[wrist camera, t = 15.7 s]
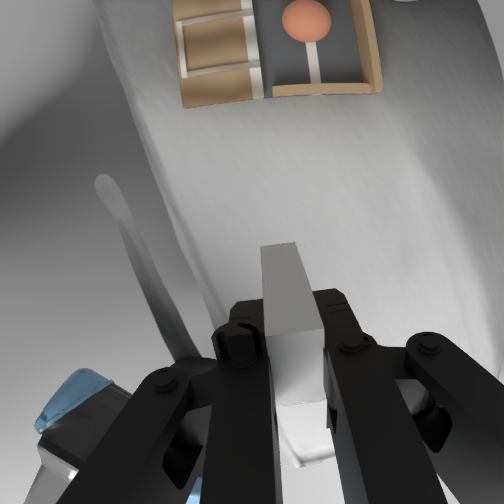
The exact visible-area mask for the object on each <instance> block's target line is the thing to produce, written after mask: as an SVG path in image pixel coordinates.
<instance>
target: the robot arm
mask: <svg viewBox="0 0 504 504" xmlns="http://www.w3.org/2000/svg"><path fill="white" fill-rule="evenodd" d="M261 264H262V284H263V299H257V300H248V301H240V302H236V304H235V305H234V306H233V307H232V308H231V310H230V316H229V323H227V324H225V325H223V326H220V327H219V328H218V329H217V330H216V331H214V333H213V335H212V337H211V339H212V342H213V346H214V350H215V354H216V358H217V360H216V359H211V358H203V357H195V358H187V359H183V360H180V361H178V362H176V363H174V364H173V365H171V366H170V367H165V368H161V369H158V370H156V371H154V372H152V373H150V374H149V375H148V376H147V377H146V378H145V379H144V380H143V381H142V383H141V384H140V385H139V387H138V388H137V390H136V391H135V392H134V394H131V393H129V392H127V391H126V390H124V389H123V388H121V387H119V386H118V385H116V384H115V383H114V381H112V380H108V379H106V378H105V377H103V376H101V375H99V374H98V373H96V372H94V371H93V370H91V369H88V368H81V369H78V370H77V371H75V372H74V373H73V374H72V375H71V376H70V377H69V378H68V379H67V380H66V381H65V382H64V383H63V384H62V386H61V387H60V388H59V389H58V391H57V392H56V393H55V394H54V395H53V397H52V398H51V399H50V401H49V402H48V403H47V405H46V406H45V408H44V409H43V411H42V413H41V414H40V416H39V417H38V418H37V420H36V422H35V425H34V426H35V429H36V430H37V432H38V433H39V434H42V437H41V439H40V441H39V442H38V445H37V448H38V451H39V454H40V457H41V461H42V465H41V467H40V469H39V471H38V473H37V475H36V478H35V480H34V482H33V484H32V486H31V488H30V491H29V493H28V495H27V497H26V500H25V502H24V504H283V497H282V481H281V466H280V451H279V436H278V421H277V414H276V407H277V406H286V405H294V404H302V403H309V402H316V401H322V400H325V394H326V399H327V428H330V430H331V435H332V439H333V444H334V449H335V454H336V459H337V464H338V469H339V474H340V479H341V484H342V490H343V495H344V500H345V504H448V502H447V500H446V497H445V494H444V492H443V489H442V487H441V484H440V482H439V479H438V476H439V477H440V478H441V479H442V481H443V482H444V483H445V484H446V486H447V487H448V488H449V490H450V491H451V492H452V494H453V495H454V496H455V498H456V499H457V500H458V502H459V503H460V504H504V385H503V384H502V383H501V382H500V381H499V380H497V379H496V378H495V377H494V376H493V375H492V374H490V373H489V372H488V371H487V370H486V369H484V368H483V367H482V366H481V365H480V364H478V363H477V362H476V361H475V360H474V359H472V358H471V357H470V356H469V355H468V354H466V353H465V352H464V351H463V350H461V349H460V348H459V347H458V346H457V345H455V344H454V343H453V342H452V341H450V340H449V339H448V338H446V337H445V336H443V335H441V334H438V333H434V332H421V333H417V334H415V335H413V336H412V337H410V338H409V339H408V341H407V343H406V347H386V346H381V345H378V344H377V342H376V341H375V340H374V338H373V337H372V336H370V335H368V334H366V333H364V332H362V329H361V327H360V325H359V323H358V321H357V319H356V317H355V315H354V313H353V311H352V310H351V307H350V305H349V304H348V301H347V299H346V297H345V295H344V294H343V293H341V292H340V291H338V290H337V289H335V288H333V289H326V290H319V291H312V290H311V287H310V284H309V281H308V278H307V275H306V272H305V270H304V267H303V264H302V261H301V258H300V255H299V252H298V250H297V247H296V244H295V242H292V243H284V244H276V245H268V246H261ZM436 473H437V474H438V476H437V474H436Z"/></svg>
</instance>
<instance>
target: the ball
mask: <svg viewBox="0 0 504 504" xmlns="http://www.w3.org/2000/svg"><path fill="white" fill-rule="evenodd" d="M282 24H283V27H284V29H285V31H286V32H287V33H288V34H289V35H290V36H291V37H292V38H294V39H296V40H298V41H301V42H307V43H308V42H315V41H318V40H320V39H322V38H324V37H325V36H326V35H327V34H328V32H329V30H330V28H331V16H330V14H329V12H328V10H327V9H326V8H325V7H324V6H323V5H322V4H320V3H319V2H317V1H314V0H296V1H294V2H292V3H290V4H289V5H288V6H287V7H286V8H285V10H284V12H283V14H282Z"/></svg>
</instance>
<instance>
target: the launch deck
mask: <svg viewBox="0 0 504 504" xmlns="http://www.w3.org/2000/svg"><path fill="white" fill-rule="evenodd" d="M172 7H173V19H174V30H175V40H176V51H177V60H178V69H179V78H180V87H181V96H182V104H183V108H187V109H188V108H194V107H200V106H206V105H213V104H220V103H227V102H235V101H243V100H252V99H262V98H264V91H263V83H262V75H261V66H260V59H259V51H258V44H257V36H256V29H255V22H254V13H253V7H252V0H173V1H172Z"/></svg>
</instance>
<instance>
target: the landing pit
mask: <svg viewBox="0 0 504 504" xmlns="http://www.w3.org/2000/svg"><path fill="white" fill-rule="evenodd" d="M294 1H296V0H252V7H253V13H254V22H255V29H256V36H257V44H258V51H259V59H260V66H261V75H262V83H263V91H264V98H273V97H285V96H301V95H324V94H374V93H378V92H382V91H384V90H383V81H382V73H381V66H380V59H379V52H378V45H377V39H376V34H375V28H374V23H373V18H372V13H371V8H370V3H369V0H314V1H317V2H319V3H320V4H322V5H323V6H324V7H325V8H326V9H327V10H328V12H329V14H330V16H331V28H330V30H329V32H328V34H327V35H326V36H325V37H324V38H322V39H320V40H318V41H315V42H308V43H307V42H301V41H298V40H296V39H294V38H292V37H291V36H290V35H289V34H288V33H287V32H286V31H285V29H284V27H283V24H282V14H283V12H284V10H285V8H286V7H287V6H288V5H289V4H290V3H292V2H294Z"/></svg>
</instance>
